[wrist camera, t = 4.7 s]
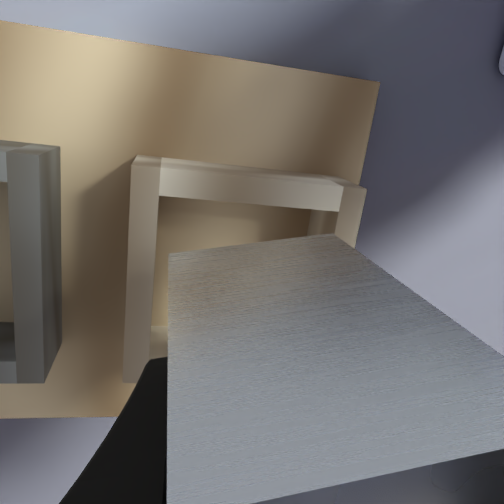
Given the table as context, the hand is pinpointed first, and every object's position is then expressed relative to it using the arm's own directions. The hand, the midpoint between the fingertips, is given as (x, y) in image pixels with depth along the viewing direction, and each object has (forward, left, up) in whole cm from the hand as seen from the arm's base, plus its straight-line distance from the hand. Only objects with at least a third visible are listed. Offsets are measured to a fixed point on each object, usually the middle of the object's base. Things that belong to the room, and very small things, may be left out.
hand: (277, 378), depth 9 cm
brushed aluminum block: (0, -1, -2) cm, 2 cm away
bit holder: (+3, 0, -8) cm, 9 cm away
